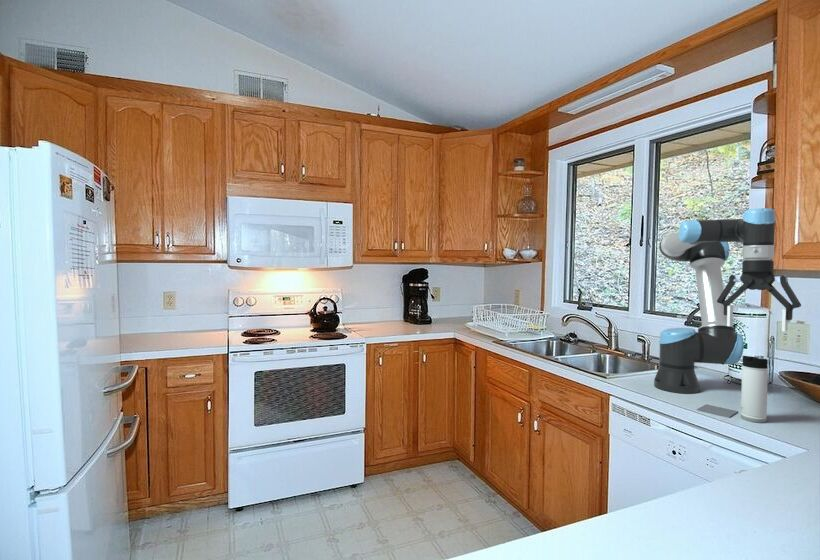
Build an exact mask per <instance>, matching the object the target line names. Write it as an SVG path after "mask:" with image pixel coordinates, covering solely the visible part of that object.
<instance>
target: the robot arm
mask: <svg viewBox="0 0 820 560" xmlns="http://www.w3.org/2000/svg"><path fill="white" fill-rule="evenodd" d="M776 221H777V220H776V212H775V210H774V209H773V208H753V209H746V210H745V211H744V212H743V217H742V218H726V219H700V220H699V219H690V220H682V221H681V222H680V224H679V227H678V231H676V232H674V233H669V234H666V235H665V236H663V238H661V240H660V242H659V244H658V248H659V251H660V253H661V255H662V256H664V257H665V258H666V259H668V260H672V261H675V262H689V264H690V267H691V268H692V269H693V270H694V271H695V277H696V278H695V279H696V287H697V294H698V295H697V296H698V302H699V303H698V304H699V311H700V312H699V313H700V319H701V325H700V326H699V327H698V329H697V331H696V330H695V329H694V328H692V327H672V328H666V329H664V330H662V331H660V334H659V341H658V342H659V360H658V361H659V365H658V366H659V367H658V369H657V371H656V374H655V377H654V379H653V387H655V388H657V389H659V390H662V391H666V392H670V393H677V394H696V393H699V392H700V382H699V380H698V377H697V374H696V371H695V364H696V363H699V364H715V365H735V364H736V365H737V363H739V362H740V361H741V360H742V358H743V354H744V346H745V345H744V344H745V343H744V341H745V340H744V337H743V336H742V334H740V333H738V332H736V331H735V329H736V328H735V327H734V325H733V322H734V320H733V319H734V305H733V304H732V303H733V302H734V301H735V300H737V299H738V297H740V296H741V295H742V294H743V293H744V292H745V291H747V290H748V289H749V290H751V291H752V290H754V291H755V290H758V291H765V290H766V291H767V292H769V293H770V294H771V295H772V296H773V297H774V298H775V299H776V300H777V301H778V302H779V303H780V304H781V305H782V307H784V308H782V310H781V311H782V313H781V315H782V316H781V332H783V333H785V332H787V331H788V328H789V327H788V324H789V323H788V321H792V320H793V313H794V312H793V311H794V309H797V308H801V307H802V304H801V302H800V301H799V299H798V297H797V295H796V294H795V291H793V289H792V287H791V285H790V284H789V281H788V276H786V275H780V276H775V274H774V270H775V269H774V268H775V264H774V263H775V261H774V260H772V259H774V258H775V235H776V234H775V233H776V231H775V230H776ZM729 243H742V259H743V261H742V266H741V268H742V270H741V275H736V274H731V275H729V279H728V283H727V284H726V285H725V287H724V281H723V275H722V267H723V265H725V261H727V260H728V259H729V256H730V246H729V245H730V244H729ZM738 281H741V282H742V283H743V284H741V286H739V288H738V289H737V290H735V292H734V293H732V294H731V295H730V296H729V294H730V292H731V291H732V289H733V287H734V286H735V284H736V283H738ZM776 281H777V283H778V284H780V285H781V287H782V289H783V291H784V292H785V294H786V295H787V297H788V299H787V298H785V297H784V296H783V294H781V292H779V291H778V290H777V289H776V287H775V286H774V285H773V283H774V282H776ZM728 296H729V297H728ZM727 297H728V298H727ZM788 300H789V301H790V302H791V303H790V302H789V301H788ZM731 304H732V305H731Z"/></svg>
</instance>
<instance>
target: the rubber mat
mask: <svg viewBox="0 0 820 560" xmlns="http://www.w3.org/2000/svg"><path fill="white" fill-rule="evenodd" d="M696 410H697V412H698V411H699V412H704V413H707V414H708V413H709V414H711V415H716V416H719V417H720V416H721V417H725V418H731V417H733V416H734V415H737V413H739V411H738V410H734V409H729V408H724V407H721V406H716V405H711V404H707V403H706V404H704V405H702V406H700V407H698V408H697V409H696Z"/></svg>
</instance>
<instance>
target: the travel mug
mask: <svg viewBox="0 0 820 560" xmlns="http://www.w3.org/2000/svg"><path fill="white" fill-rule="evenodd" d="M741 360H742V361H741V362H742V364H741V391H740V392H741V393H740V394H741V397H740V399H741V400H740V418H741V419H742V420H744V421H747V422H750V421H751V422H752V423H757V424H762V423H766V422H767V416H768V415H767V414H768V411H767V410H768V407H767V406H768V376H769V374H768V373H769V370H768V369H769V368H768V367H769V366H768V363H769V359H767V358H758V357H757V356H752V355H751V356H748V355H742V358H741Z"/></svg>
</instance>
